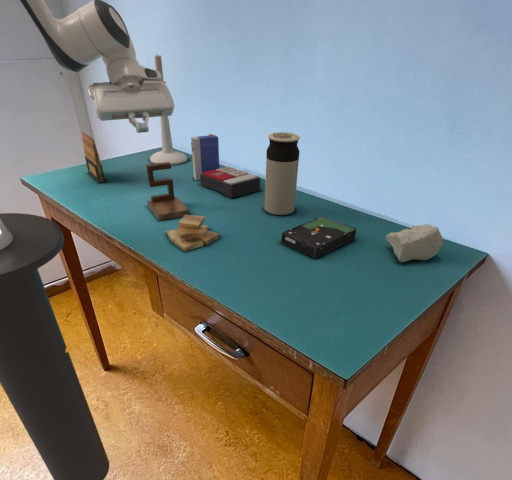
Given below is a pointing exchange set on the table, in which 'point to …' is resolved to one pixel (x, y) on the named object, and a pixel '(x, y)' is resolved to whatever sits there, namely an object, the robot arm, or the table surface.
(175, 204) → the letter S
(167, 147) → the candlestick
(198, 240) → the tile pile
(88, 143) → the ammunition clip
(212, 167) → the walkman
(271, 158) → the travel mug
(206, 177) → the calculator
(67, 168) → the table surface
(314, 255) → the disk drive
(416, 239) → the decorative stone
